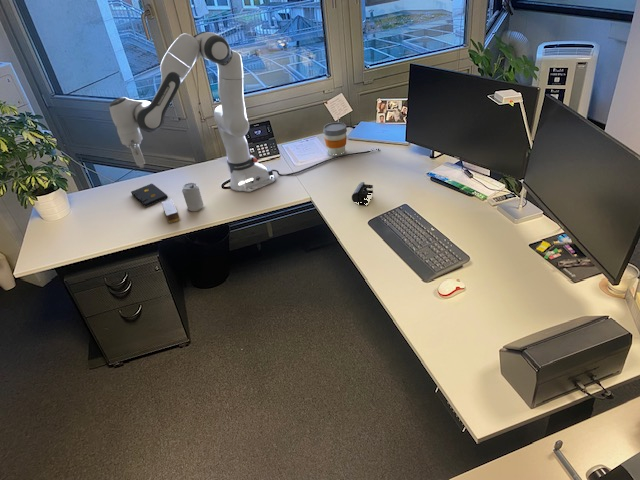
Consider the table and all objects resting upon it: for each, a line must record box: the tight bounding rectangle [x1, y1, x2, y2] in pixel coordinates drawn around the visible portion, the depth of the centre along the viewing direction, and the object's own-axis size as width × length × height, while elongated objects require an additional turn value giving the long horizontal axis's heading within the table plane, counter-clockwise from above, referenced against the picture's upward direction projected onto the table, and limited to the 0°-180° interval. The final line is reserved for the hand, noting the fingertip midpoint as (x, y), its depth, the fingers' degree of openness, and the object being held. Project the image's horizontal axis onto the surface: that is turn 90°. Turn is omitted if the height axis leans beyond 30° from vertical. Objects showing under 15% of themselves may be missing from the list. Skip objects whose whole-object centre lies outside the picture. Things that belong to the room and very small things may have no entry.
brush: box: [160, 198, 180, 224], centre depth 214 cm, size 5×14×4 cm, turn 25°
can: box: [181, 182, 204, 212], centre depth 215 cm, size 8×8×12 cm
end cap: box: [351, 181, 374, 207], centre depth 208 cm, size 10×7×7 cm
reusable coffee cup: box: [322, 121, 348, 157], centre depth 250 cm, size 13×13×15 cm
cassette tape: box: [130, 183, 168, 208], centre depth 231 cm, size 18×12×2 cm, turn 40°
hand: (141, 166), depth 204 cm, fingers closed
